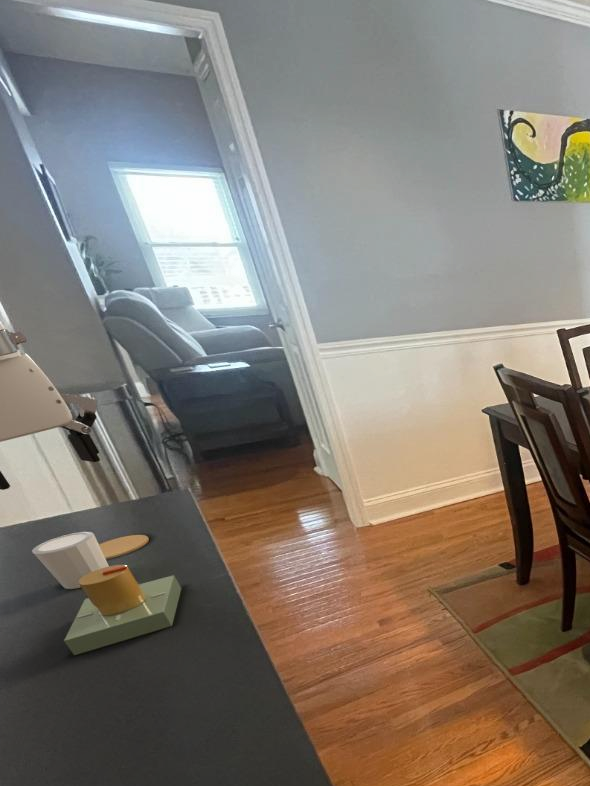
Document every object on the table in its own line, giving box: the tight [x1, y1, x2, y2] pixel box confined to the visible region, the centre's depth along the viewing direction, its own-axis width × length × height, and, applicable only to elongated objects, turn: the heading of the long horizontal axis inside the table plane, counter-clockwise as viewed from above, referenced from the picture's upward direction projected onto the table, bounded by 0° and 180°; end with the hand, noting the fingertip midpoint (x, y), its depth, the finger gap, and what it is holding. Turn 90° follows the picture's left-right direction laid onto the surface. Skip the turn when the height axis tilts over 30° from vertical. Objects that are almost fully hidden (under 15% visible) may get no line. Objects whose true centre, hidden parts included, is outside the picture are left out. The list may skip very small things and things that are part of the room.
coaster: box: [98, 534, 149, 560], centre depth 105 cm, size 8×8×1 cm
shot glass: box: [31, 531, 110, 590], centre depth 95 cm, size 7×7×7 cm
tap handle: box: [78, 564, 146, 615], centre depth 83 cm, size 5×5×6 cm
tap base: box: [63, 574, 182, 656], centre depth 85 cm, size 10×12×3 cm
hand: (48, 473), depth 83 cm, fingers open, 9 cm apart
